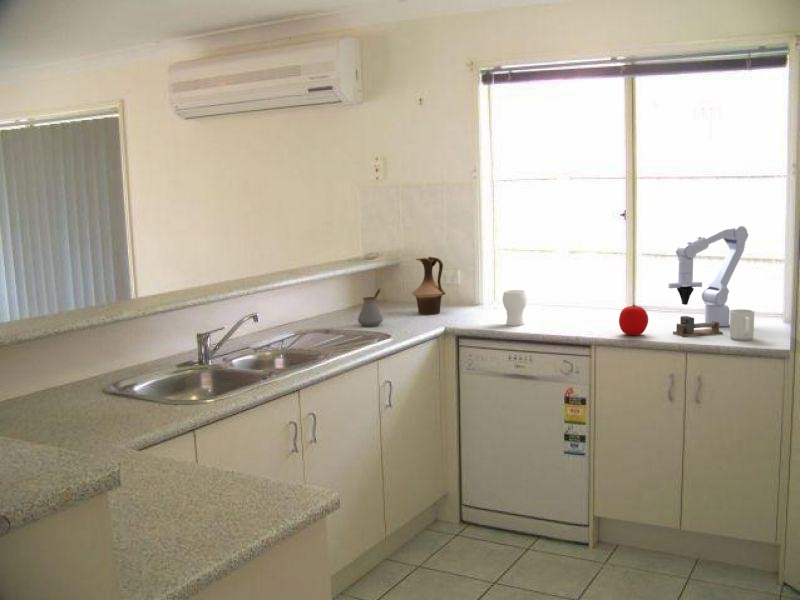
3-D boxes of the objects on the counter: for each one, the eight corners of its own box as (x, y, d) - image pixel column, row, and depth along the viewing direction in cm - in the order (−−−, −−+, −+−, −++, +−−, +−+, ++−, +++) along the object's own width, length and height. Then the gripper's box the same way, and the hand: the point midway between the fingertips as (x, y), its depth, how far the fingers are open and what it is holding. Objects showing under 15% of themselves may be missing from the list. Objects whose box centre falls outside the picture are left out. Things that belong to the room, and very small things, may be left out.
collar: (686, 330, 353) (687, 316, 352) (693, 332, 348) (694, 318, 347) (680, 330, 352) (680, 316, 351) (687, 333, 347) (687, 318, 346)
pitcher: (453, 311, 421) (452, 255, 417) (436, 317, 407) (435, 259, 403) (423, 309, 431) (421, 254, 426) (405, 314, 417) (403, 257, 412)
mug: (726, 336, 344) (727, 309, 342) (749, 336, 343) (750, 309, 341) (735, 342, 332) (736, 314, 330) (759, 342, 331) (760, 314, 329)
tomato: (630, 338, 345) (631, 308, 343) (612, 333, 356) (613, 304, 354) (655, 335, 350) (655, 305, 348) (636, 330, 361) (636, 301, 359)
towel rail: (712, 330, 357) (712, 320, 356) (722, 334, 349) (723, 323, 348) (672, 333, 353) (672, 323, 352) (682, 337, 345) (683, 326, 345)
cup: (500, 326, 380) (500, 292, 378) (506, 322, 390) (505, 289, 388) (524, 327, 376) (523, 293, 374) (529, 322, 386) (528, 290, 384)
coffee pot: (378, 328, 384) (377, 295, 381) (354, 327, 387) (353, 294, 385) (392, 319, 404) (391, 288, 401) (369, 319, 407) (368, 288, 405)
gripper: (696, 270, 364) (695, 302, 366) (665, 272, 362) (664, 303, 364) (705, 272, 358) (704, 304, 360) (673, 274, 355) (672, 306, 357)
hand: (684, 304), depth 361 cm, fingers closed
